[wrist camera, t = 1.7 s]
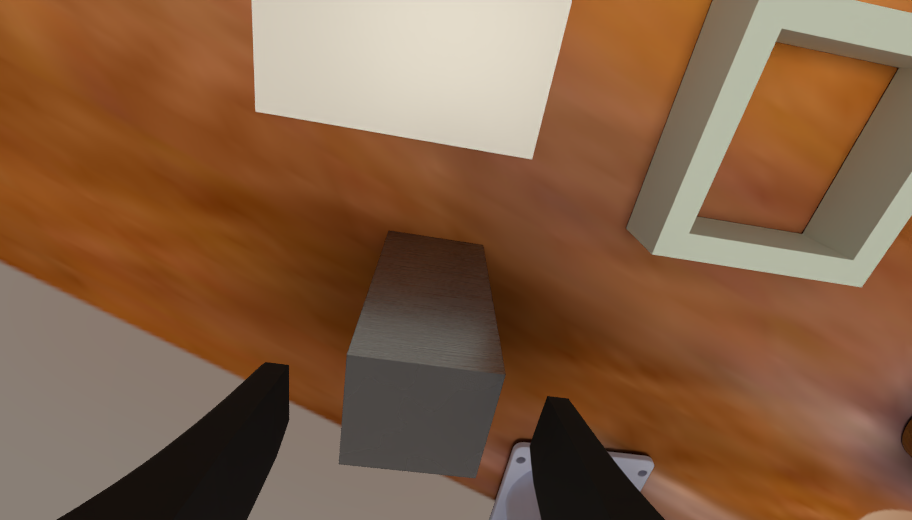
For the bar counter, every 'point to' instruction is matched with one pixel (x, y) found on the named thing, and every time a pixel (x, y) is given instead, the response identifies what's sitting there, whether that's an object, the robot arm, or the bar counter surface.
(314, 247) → the bar counter surface
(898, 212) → the frame
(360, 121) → the pad
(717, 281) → the bar counter surface
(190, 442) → the robot arm
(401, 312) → the pin block
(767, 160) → the bar counter surface
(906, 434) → the disposable coffee cup
